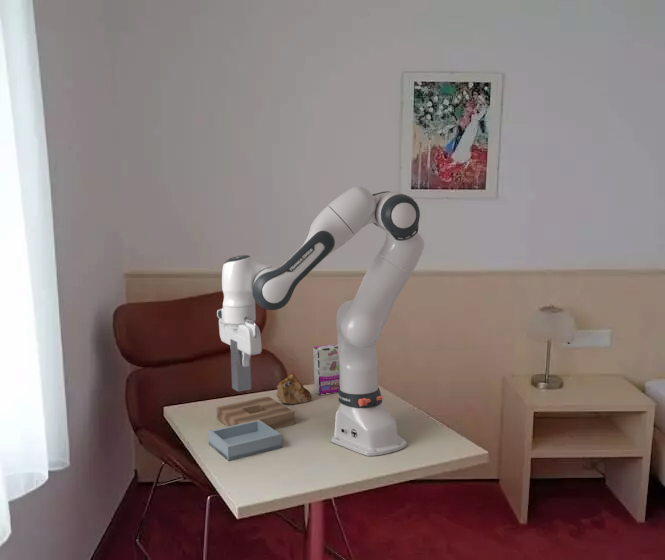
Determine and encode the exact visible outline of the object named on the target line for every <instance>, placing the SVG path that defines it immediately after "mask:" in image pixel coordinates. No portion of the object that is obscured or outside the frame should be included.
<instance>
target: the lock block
mask: <svg viewBox="0 0 665 560" xmlns="http://www.w3.org/2000/svg"><path fill="white" fill-rule="evenodd" d="M295 413H296V412H295V411H294V410H293V409H291V408H289V407H287V406H286V405H284V404H283V403H281V402H280V401H277V400H275V399H274V398H272V397H270V396H262V397H259V398H254V399H248V400H243V401H239V402H234V403H229V404H224V405H219V406H216V419H217V420H218V421H219V423H221V424H223V425H224V426H225V427H229V426H233V425H238V424H242V423H246V422H251V421H255V420H260V421H262V422H263V423H265V424H266V425H268V426H269V427H271V428H272V429H274V430H277V429H281V428H285V427H288V426H289V427H290V426H293V425H296V418H295V417H296V416H295V415H296V414H295Z"/></svg>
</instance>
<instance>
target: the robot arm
mask: <svg viewBox="0 0 665 560" xmlns="http://www.w3.org/2000/svg"><path fill="white" fill-rule="evenodd" d="M420 212H421V211H420V207H419V205H418V204H417V202H416V201H415V199H414V198H412V197H411V196H409V195H407V194H404V193H401V192H398V191H388V190H385V191H381V192H377V193H372V192H371V191H370V190H368V189H367V188H365V187H363V186H359V185H356V186H353V187H350V188H349V189H347V190H346V191H344V192H343V193H341V194H340V195H339V196H338V197H336V198H334V200H332V201H331V202H329V204H327V206H326V207H324V208H323V209H322V210H321V211H320V212H319V213H318V215H317V216H316V217H315V218H314V220H313V221H312V223H311V224H310V226H309V228H310V229H309V231H308V235H307V236H306V239H305V241H304V242H303V244H302V245H301V246H300V247H299V248H298V250H297V251H295V252H294V253H293V254H292V255H291V256H290V257H289V258H288V259H287V260H286V261H284V263H283V264H281V266H279V267H276V266H272V265H269V264H266V263H263V262H261V261H259V260H256V259H255V258H254V257H252V256H250V255H248V254H247V255H246V254H243V255H237V256H233V257H230V258H228V259H227V260H225V262H224V263H223V265H222V270H221V290H222V291H221V292H222V293H223V302H222V308H220V309H217V311H216V317H217V318H218V330H219V337H220V341H221V342H222V343H224V344H227V345H229V346H230V349H231V343H230V339H232V340H234V341H236V342H237V348H238V350H240V351H242V355H243V358H242V360H241V365H242V366H244V367H247V366H249V359H250V360H251V356H255V355H260V354H261V353H262V350H263V349H262V348H263V347H262V336H261V335H262V334H261V330H260V327H259V326H258V325H257V324H256V320H257V319H256V304H257V305H258V306H259V307H260V308H262V309H264V310H266V311H277V310H280V309H282V308H284V307H285V306H287V304H288V303H289V302H290V300H291V298H292V296H293V293H294V290H295V289H296V287H297V286H298V285H299V284H300V282H301V281H303V279H304V278H305V277H306V276H308V274H309V273H310V272H311V271H313V269H314V268H315V267H317V265H319V264H320V263H321V262H322V261H323V260H324V259H326V257H328V256H330V255H331V254H332V253H334V252H335V251H336V250H338V249H339V248H341V247H343V246H344V245H345V244H346V243H347V242H349V241H350V240H351V239H352V238H353V237H355V236H356V235H357V234H358V233H359V232H360V231H361V229H363V228H364V227H366V226H368V225H370V224H373V225H375V226H376V227H379V228H380V229H382V230H383V231H385V240H384V242H383V245H382V247H381V248H380V250H379V251H378V253H377V255H376V257H374V259H373V260H372V262H371V264H370V266H369V267H368V269H367V270H366V272H365V274H364V276H363V277H362V280H361V283H360V286H359V288H358V290H357V292H356V294H355V296H354V298H353V299H351V300H346V301H345V302H343V303H342V304H341V305H340V306H339V308H338V310H337V313H336V318H335V319H336V339H337V344H338V353H339V370H340V388H339V390H338V392H337V398H338V399H337V400H338V402H339V405H338V407H337V411H336V413H335V419H334V421H335V422H334V423H335V424H334V434H333V436H332V437H331V442H332V443H333V444H335V445H338V446H341V447H343V448H346V449H348V450H351V451H353V452H356V453H359V454H361V455H364V456H367V457H368V456H369V457H373V456H382V455H386V454H387V455H388V454H391V453H394V452H397V451H400V450H401V449H404V448H405V447H407V445H408V444H407V441H406V440H405V439H404V438H403V437H401V436H400V435H399V433H398V432H399V431H398V425H397V420H396V417H395V416H392V415H391V414H390V413H389V411H388V410H387V408H386V407H385V405H384V404H383V400H384V396H385V395H382V392H381V389H380V387H379V360H378V355H377V345H376V343H377V342H378V341H379V339H380V337H381V335H382V334H381V333H382V331H383V328H384V326H385V324H386V323H387V320H388V318H389V316H390V314H391V311H392V308H393V306H394V305H395V302H396V300H397V299H398V297H399V295H400V293H401V292H402V290H403V288H404V287H405V285H406V283H407V281H408V280H409V279H410V277H411V275H412V273H413V272H414V270H415V269H416V266H417V264H418V263H419V261H420V259H421V256H422V254H423V251H424V248H425V241H424V238H423V237H422V235H421V234H420V233H419V232H418V231H419V225H420V217H421V213H420Z"/></svg>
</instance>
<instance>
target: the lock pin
mask: <svg viewBox="0 0 665 560" xmlns="http://www.w3.org/2000/svg"><path fill="white" fill-rule="evenodd" d="M230 343H231V348H230V366H231V367H230V369H231V370H230V371H231V372H230V373H231V388H232V390H234V391H236V392H239V393H240V392H243V391H244V392H245V391H250V390H252V376H251V375H252V373H251V372H252V371H251V370H252V368H251V358H250V359H249V366H247V367H244V366H242V365H241V360H242V358H243V355H242V351H240V350H238V348H237V342H236V341H234V340H232V339H230Z"/></svg>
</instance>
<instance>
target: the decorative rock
mask: <svg viewBox="0 0 665 560" xmlns="http://www.w3.org/2000/svg"><path fill="white" fill-rule="evenodd" d="M276 388H277V391H276V397H277V399H278V400H279V401H278V402H279V403H281V404H286V405H287V404H288V405H290V404H291V405H292V404H294V405H295V404H299V403H301V404H302V403H307V402H308V401H309V402H310V401H311V400H312V394H311V392H310V391H309V390H308V389H307V388H306V387H304V385H303V384H302V382H300V380H299V379H297V377H296V375H295V374H294V373H293V372H292V373H290V374H289V375H288V377H285V378H284V379H282V380H281V381H280V382H279V383H278V384H277V386H276ZM309 402H308V403H309Z"/></svg>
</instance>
